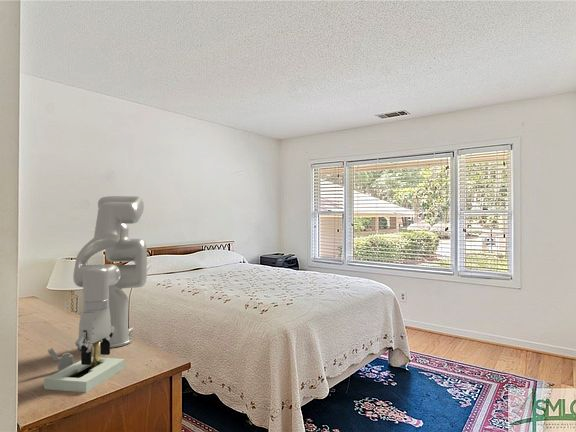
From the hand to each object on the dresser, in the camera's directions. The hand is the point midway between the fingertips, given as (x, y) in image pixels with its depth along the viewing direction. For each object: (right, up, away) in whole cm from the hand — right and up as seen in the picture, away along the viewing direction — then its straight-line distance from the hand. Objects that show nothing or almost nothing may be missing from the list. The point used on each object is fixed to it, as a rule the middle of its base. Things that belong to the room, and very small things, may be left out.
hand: (96, 359), depth 119 cm
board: (-1, -4, -4) cm, 6 cm away
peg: (0, -4, 0) cm, 4 cm away
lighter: (-13, -5, +2) cm, 14 cm away
